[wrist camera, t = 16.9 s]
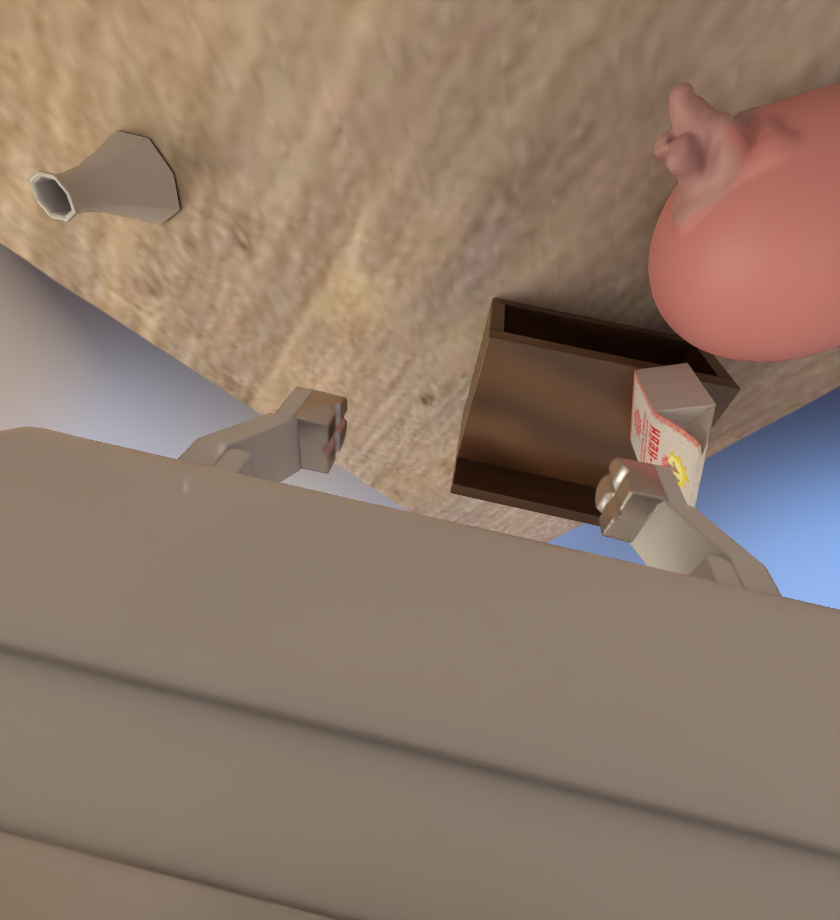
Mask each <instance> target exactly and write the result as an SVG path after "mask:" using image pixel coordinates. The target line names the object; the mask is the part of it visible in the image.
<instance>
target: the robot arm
mask: <svg viewBox="0 0 840 920" xmlns="http://www.w3.org/2000/svg"><path fill="white" fill-rule="evenodd" d="M346 411H347V399H346V397H342V396H338V395H334V394H329V393H325V392H321V391H317V390H313V389H308V388H304V387H296V388H295V389H294V390H293V392H292V393H291V394H290V395H289V397H288V398H287V399H286V400H285V402H284V403H283V404H282V405H281V407H280V408H279V409H278V410H277V412H276V413H275V414H272V413H269V414H266V415H263V416H260V417H257V418H255V419H252V420H249V421H246V422H243V423H240V424H237V425H235V426H232V427H229V428H226V429H223V430H220V431H217V432H215V433H212V434H209V435H206V436H203V437H200V438H198V439H196V441H195V442H194V443H193V444H192V445H191V446H190V447H189V448H188V449H187V450H186V451H185V452H184V453H183V454H182V455H181V456H180V457H179V458H178V459H173V458H168V457H164V456H160V455H156V454H151V453H147V452H142V451H138V450H134V449H129V448H125V447H120V446H116V445H111V444H107V443H102V442H98V441H94V440H89V439H85V438H80V437H76V436H72V435H68V434H64V433H60V432H56V431H52V430H48V429H43V428H35V427H21V428H15V429H9V430H3V431H0V920H840V610H839V609H834V608H830V607H825V606H821V605H816V604H812V603H808V602H803V601H799V600H794V599H790V598H786V597H782V595H781V594H780V592H779V590H778V588H777V586H776V584H775V583H774V581H773V579H772V577H771V575H770V574H769V572H768V570H767V568H766V567H765V566H764V565H763V564H762V563H761V562H759V561H758V560H757V559H756V558H755V557H753V556H752V555H751V554H750V553H748V552H747V551H746V550H745V549H744V548H742V547H741V546H740V545H739V544H738V543H736V542H735V541H734V540H733V539H732V538H730V537H729V536H728V535H727V534H726V533H724V532H723V531H722V530H721V529H720V528H718V527H717V526H716V525H715V524H713V523H712V522H711V521H710V520H709V519H707V518H706V517H705V516H704V515H702V514H701V513H700V512H699V511H698V510H697V509H695V508H694V507H693V506H688V505H687V503H686V500H685V498H684V496H683V494H682V492H681V489H680V487H679V485H678V483H677V480H676V478H675V476H674V474H673V472H672V470H671V469H670V468H669V467H666V466H661V465H656V464H649V463H644V462H639V461H634V460H629V459H624V458H619V457H616V458H614V459H613V460H612V462H611V463H610V465H609V467H608V468H609V472H610V474H608V475H606V476H605V477H603V478H601V480H600V482H599V484H598V486H597V489H596V493H595V504H596V508H597V509H598V510H599V511H600V512H601V513H602V514H601V515H600V517H599V518H598V519H599V524H600V528H601V533H602V536H606V537H610V538H614V539H618V540H622V541H626V542H630V543H631V545H632V546H633V548H634V549H635V550H636V552H637V553H638V554H639V556H640V557H641V558H642V560H643V561H644V562H645V563H646V565H647V566H645V565H641V564H636V563H632V562H627V561H623V560H619V559H614V558H609V557H605V556H601V555H596V554H592V553H588V552H583V551H579V550H574V549H570V548H566V547H561V546H557V545H552V544H548V543H544V542H539V541H535V540H530V539H526V538H521V537H517V536H513V535H508V534H504V533H499V532H495V531H491V530H486V529H482V528H477V527H473V526H469V525H464V524H460V523H455V522H451V521H447V520H442V519H438V518H433V517H429V516H425V515H420V514H416V513H411V512H407V511H402V510H398V509H394V508H389V507H385V506H380V505H376V504H372V503H367V502H363V501H358V500H354V499H350V498H345V497H341V496H336V495H332V494H328V493H323V492H319V491H314V490H310V489H306V488H301V487H297V486H292V485H288V484H283V483H280V482H281V481H283V480H285V479H286V478H288V477H289V476H291V475H293V474H294V473H296V472H298V471H299V470H300V468H301V469H307V470H312V471H317V472H322V473H327V474H328V473H329V471H330V469H331V467H332V465H333V463H334V461H335V453H336V452H338V451H340V449H341V447H342V445H343V442H344V439H345V435H346V428H347V421H346V420H345V418H344V415H345V413H346Z"/></svg>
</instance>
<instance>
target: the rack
mask: <svg viewBox="0 0 840 920" xmlns="http://www.w3.org/2000/svg"><path fill="white" fill-rule="evenodd" d="M683 363H688V365H689V366H690V367H691V369H692V370H693V372H694V373H695V375H696V376H697V378H698V379H699V380H700V382H701V383H702V385H703V386H704V388H705V389H706V391H707V392H708V393H709V395H710V396H711V398H712V399H713V401H714V402H715V404H716V406H715V411H714V416H713V421H712V426H711V428H712V427H713V425H714V424H715V423H716V421H717V420H718V419H719V417H720V416H721V415H722V413H723V412H724V411H725V409H726V408H727V407H728V405H729V404H730V403H731V401H732V400H733V399H734V397H735V396H736V395H737V393H738V392H739V391H740V388H739V386H738V385H737V384H736V383H735V381H734V380H733V379H732V377H731V376H730V375H729V374H728V373H727V371H726V370H725V369H724V368H723V366H722V365H721V364H720V363H719V362H718V360H717V359H716V358H715V357H714V355H713V354H710V353H708V352H705V351H703V350H701V349H699V348H697V347H695V346H693V345H692V344H690V343H688V342H687V341H686V340H684V339H683V338H682V337H680V336H675V335H670V334H666V333H661V332H656V331H651V330H646V329H641V328H636V327H632V326H627V325H622V324H617V323H612V322H607V321H602V320H598V319H593V318H588V317H583V316H578V315H573V314H568V313H564V312H559V311H554V310H549V309H544V308H539V307H534V306H530V305H525V304H520V303H515V302H510V301H505V300H500V299H496V298H493V300H492V304H491V308H490V311H489V315H488V319H487V323H486V327H485V331H484V335H483V339H482V343H481V347H480V351H479V355H478V358H477V362H476V366H475V370H474V374H473V378H472V382H471V386H470V390H469V394H468V398H467V402H466V405H465V409H464V413H463V418H462V424H461V430H460V436H459V442H458V448H457V454H456V461H455V467H454V473H453V479H452V485H451V491H450V493H453V494H458V495H462V496H467V497H471V498H476V499H480V500H485V501H489V502H494V503H498V504H502V505H507V506H511V507H516V508H520V509H525V510H529V511H534V512H538V513H543V514H547V515H552V516H556V517H561V518H565V519H570V520H574V521H579V522H583V523H588V524H592V525H597V526H600V524H599V519H598V518H599V517H600V515H601V514H602V513H601V512H600V511H599V510H598V509H597V508H596V504H595V493H596V489H597V486H598V484H599V482H600V480H601V478H603V477H605V476H606V475H608V474H610V472H609V468H608V467H609V465H610V463H611V462H612V460H613V459H614V458H616V457H619V458H624V459H629V460H634V461H638V460H637V457H636V454H635V451H634V449H633V446H632V443H631V440H630V429H631V414H632V398H633V383H634V370H638V369H646V368H653V367H661V366H668V365H676V364H683Z"/></svg>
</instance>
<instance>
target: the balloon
mask: <svg viewBox="0 0 840 920" xmlns="http://www.w3.org/2000/svg"><path fill="white" fill-rule="evenodd" d="M669 104H670V110H669V115H670V120H671V129H670V130H668V131H667V132H666V133H665V134H663V135H662V136H661V137H660V138H659V139H658V140H657V142H656V144H655V146H654V154H655V156H656V157H658V158H660V159H662V160H663V161H664V163H665V164H666V165H667V167H668V169H669V171H670V172H671V173H672V174H674V175H675V176H676V178H677V180H678V184H677V185H676V187H675V188H674V190H673V191H672V193H671V195H670V196H669V198H668V200H667V201H666V203H665V205H664V207H663V209H662V211H661V214H660V216H659V218H658V221H657V223H656V226H655V229H654V233H653V236H652V240H651V245H650V251H649V261H648V272H649V282H650V287H651V292H652V295H653V298H654V301H655V303H656V306H657V308H658V310H659V312H660V313H661V315H662V317H663V318H664V320H665V321H666V322H667V323H668V325H669V326H670V327H671V328H672V329H673V330H674V331H675V332H676V333H677V334H678V335H679V336H680V337H682V338H683V339H684V340H686V341H687V342H688V343H690V344H692V345H693V346H695V347H697V348H699V349H701V350H703V351H705V352H708V353H710V354H713V355H716V356H720V357H723V358H728V359H733V360H739V361H748V362H774V361H784V360H791V359H797V358H802V357H806V356H810V355H814V354H818V353H821V352H824V351H827V350H830V349H833V348H836V347H838V346H840V84H836V85H831V86H826V87H821V88H817V89H813V90H810V91H806V92H803V93H800V94H797V95H795V96H792V97H789V98H787V99H784V100H782V101H780V102H775V103H771V104H767V105H764V106H759V107H755V108H751V109H748V110H745V111H743V112H741V113H739V114H737V115H735V116H734V117H733V116H732V115H730V114H728V113H724V112H719V111H717V110H715V109H714V108H713V107H712V106H711V105H710V104H709V103H707V102H706V101H705V100H704V99H703V98H701V97H700V96H697V95H695V93H694V91H693V87H692V85H691V84H689V83H685V82H683V83H680V84H678V85H677V86H676V87H675V88H674V89H673V91H672V92H671V94H670V97H669Z"/></svg>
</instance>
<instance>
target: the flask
mask: <svg viewBox="0 0 840 920" xmlns="http://www.w3.org/2000/svg"><path fill="white" fill-rule="evenodd" d="M29 183H30V186H31V188H32V191H33V193H34V196H35V199H36V201H37V202H38V203H39V204H40V205H41V206H42V208H43V209H44V210H45V211H46V212H47V213H48V214H49V216H50V217H51V218H55V219H60V220H64V221H70V220H71V219H72V218H73V217H75V216H76V215H77V214H79V213H84V212H104V213H109V214H114V215H120V216H125V217H130V218H134V219H138V220H142V221H147V222H151V223H156V224H162V223H164V222H165V221H166V220H168V219H169V218H170V217H171V216H173V215H174V214H175V213H177V212H178V211H179V210H180V207H179V202H178V196H177V191H176V186H175V180H174V175H173V173H172V171H171V170H170V168H169V167H168V166H167V164H166V163H165V161H164V160H163V158H162V157H161V155H160V154H159V153H158V151H157V150H156V148H155V147H154V145H153V144H152V142H151V141H150V140H149V138H146V137H141V136H137V135H133V134H128V133H124V132H120V131H116V132H115V133H114V134H113V135H111V136H110V137H109V138H108V139H107V140H106V141H105V142H104V143H103V144H102V145H101V146H100V147H99V148H98V149H97V150H96V151H95V152H94V153H93V154H91V155H90V156H89V157H88V158H87V159H86V160H84V161H83V162H82V163H81V164H80V165H78V166H76V167H74V168H72V169H70V170H68V171H65V172H63V173H58V174H52V173H48V172H44V171H37V172H36V173H35V174H34V175H33V177H32V178H31V179H30V180H29Z"/></svg>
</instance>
